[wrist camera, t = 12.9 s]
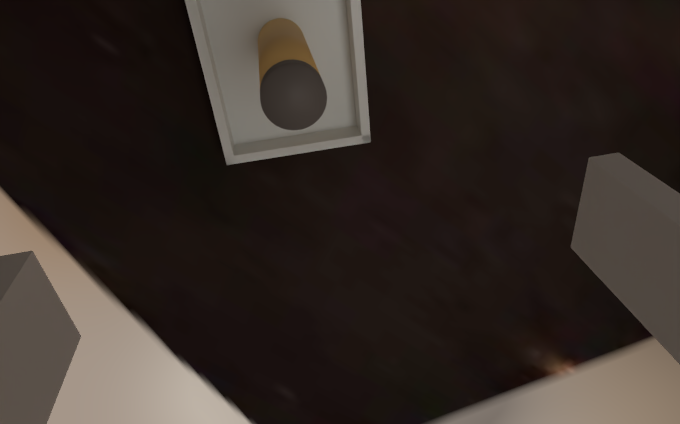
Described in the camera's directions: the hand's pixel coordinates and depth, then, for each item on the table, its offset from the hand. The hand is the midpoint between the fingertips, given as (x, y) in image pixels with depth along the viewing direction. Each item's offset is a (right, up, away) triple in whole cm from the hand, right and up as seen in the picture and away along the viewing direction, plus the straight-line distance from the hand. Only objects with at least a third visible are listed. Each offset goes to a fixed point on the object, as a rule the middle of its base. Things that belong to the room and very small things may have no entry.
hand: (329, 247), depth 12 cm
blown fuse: (-3, +12, +19) cm, 23 cm away
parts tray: (-4, +12, +20) cm, 23 cm away
